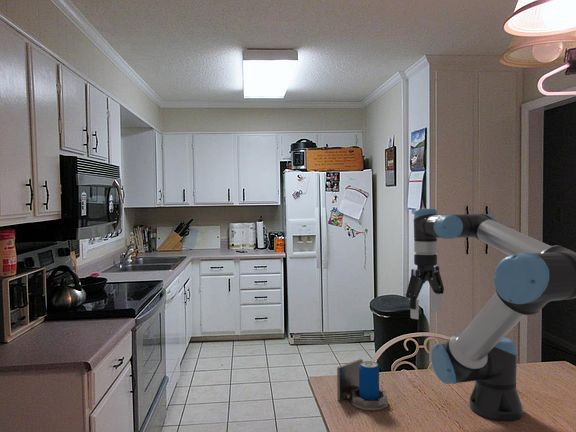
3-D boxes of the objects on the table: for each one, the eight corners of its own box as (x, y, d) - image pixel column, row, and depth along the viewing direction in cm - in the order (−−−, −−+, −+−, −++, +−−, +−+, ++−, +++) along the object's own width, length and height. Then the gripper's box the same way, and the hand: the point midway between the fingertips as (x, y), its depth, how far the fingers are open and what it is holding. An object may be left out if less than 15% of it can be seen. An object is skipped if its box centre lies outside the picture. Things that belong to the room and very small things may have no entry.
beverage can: (378, 396, 151) (378, 360, 150) (380, 405, 144) (380, 367, 144) (358, 395, 151) (358, 360, 151) (359, 404, 145) (359, 367, 144)
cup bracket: (395, 403, 147) (395, 369, 147) (372, 414, 139) (372, 379, 139) (360, 390, 158) (360, 358, 158) (337, 400, 150) (337, 367, 150)
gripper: (435, 250, 166) (435, 307, 166) (394, 255, 149) (395, 319, 150) (454, 251, 160) (454, 311, 160) (414, 257, 144) (414, 323, 144)
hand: (425, 315), depth 155 cm, fingers open, 13 cm apart
